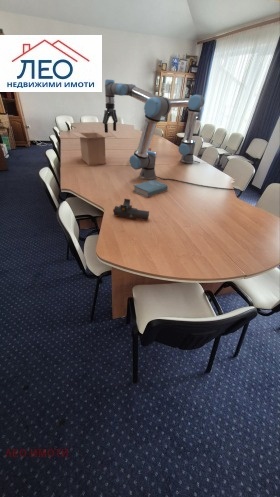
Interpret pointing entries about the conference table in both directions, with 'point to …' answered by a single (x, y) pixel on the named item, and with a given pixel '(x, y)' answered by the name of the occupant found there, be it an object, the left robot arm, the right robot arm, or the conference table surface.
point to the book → (150, 188)
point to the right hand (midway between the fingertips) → (147, 135)
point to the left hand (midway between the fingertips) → (110, 131)
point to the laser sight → (130, 211)
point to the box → (92, 146)
